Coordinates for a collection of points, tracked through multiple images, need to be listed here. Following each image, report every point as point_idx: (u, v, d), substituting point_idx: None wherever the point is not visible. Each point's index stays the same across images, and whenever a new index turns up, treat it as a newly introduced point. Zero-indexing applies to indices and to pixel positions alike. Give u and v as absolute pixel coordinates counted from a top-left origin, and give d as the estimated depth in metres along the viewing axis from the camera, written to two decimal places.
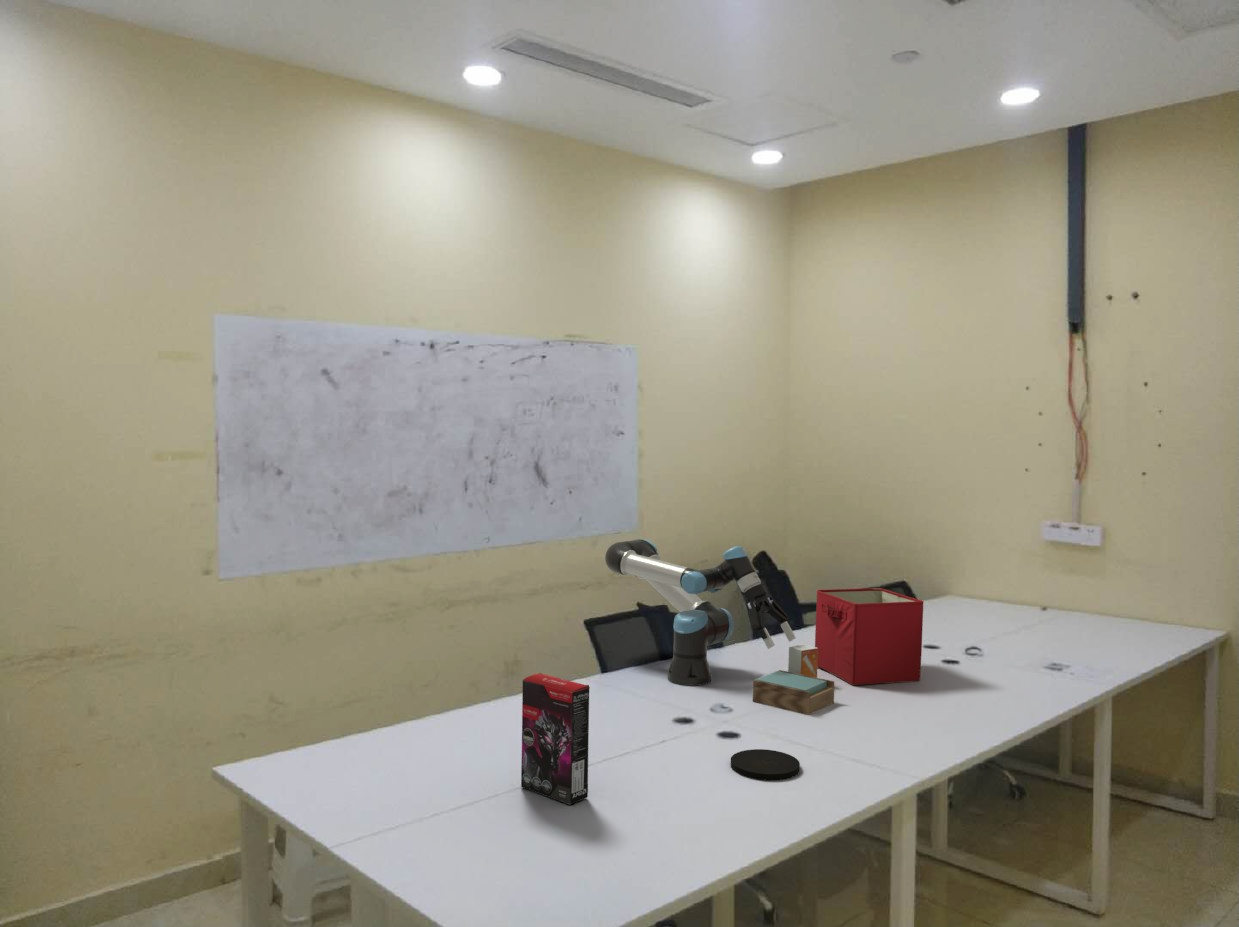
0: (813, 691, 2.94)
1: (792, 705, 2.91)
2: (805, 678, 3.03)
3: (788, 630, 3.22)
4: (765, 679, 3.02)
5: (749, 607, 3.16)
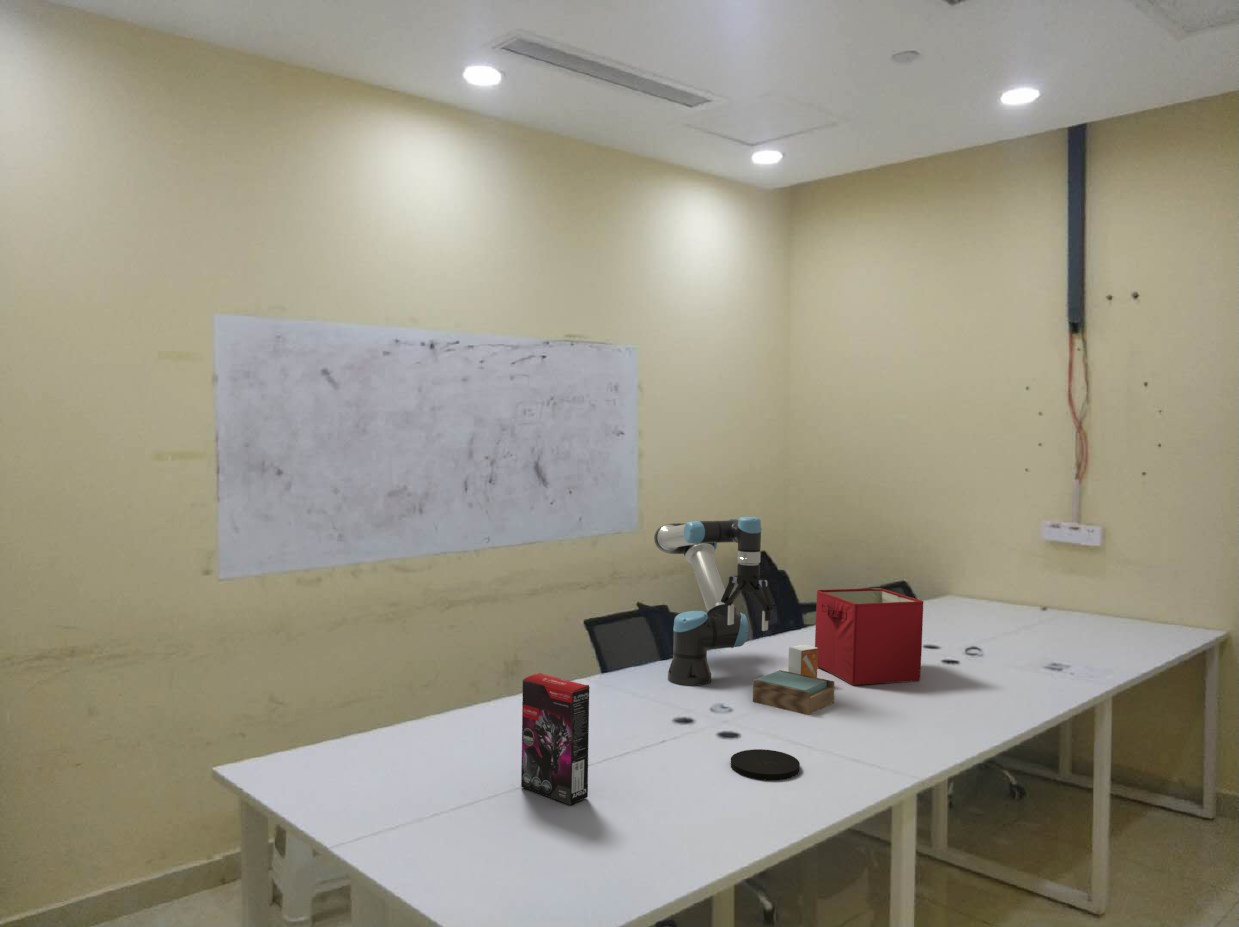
0: (813, 691, 2.94)
1: (792, 705, 2.91)
2: (805, 678, 3.03)
3: None
4: (765, 679, 3.02)
5: None
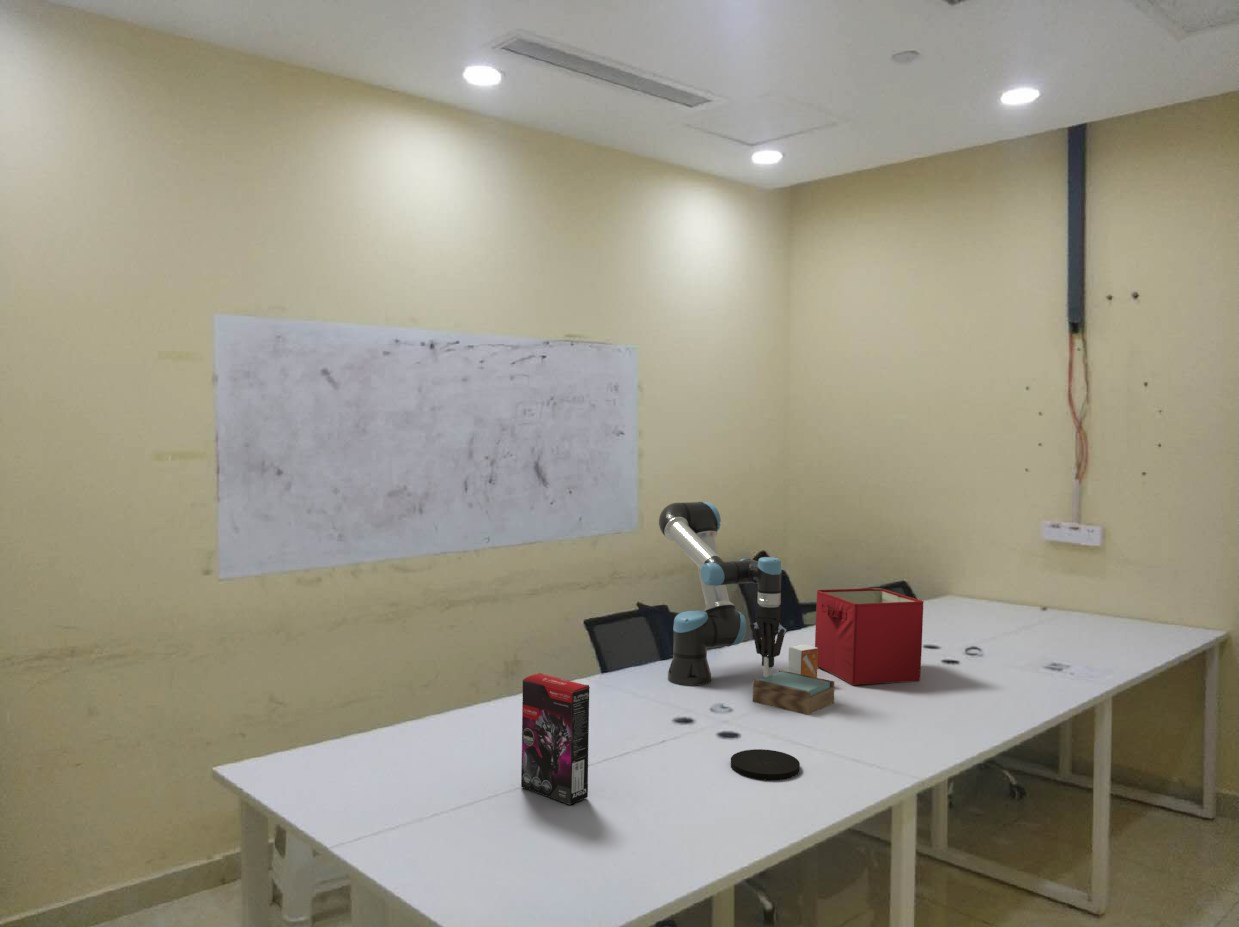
0: (816, 692, 2.93)
1: (792, 705, 2.91)
2: (808, 679, 3.03)
3: None
4: (768, 680, 3.01)
5: None
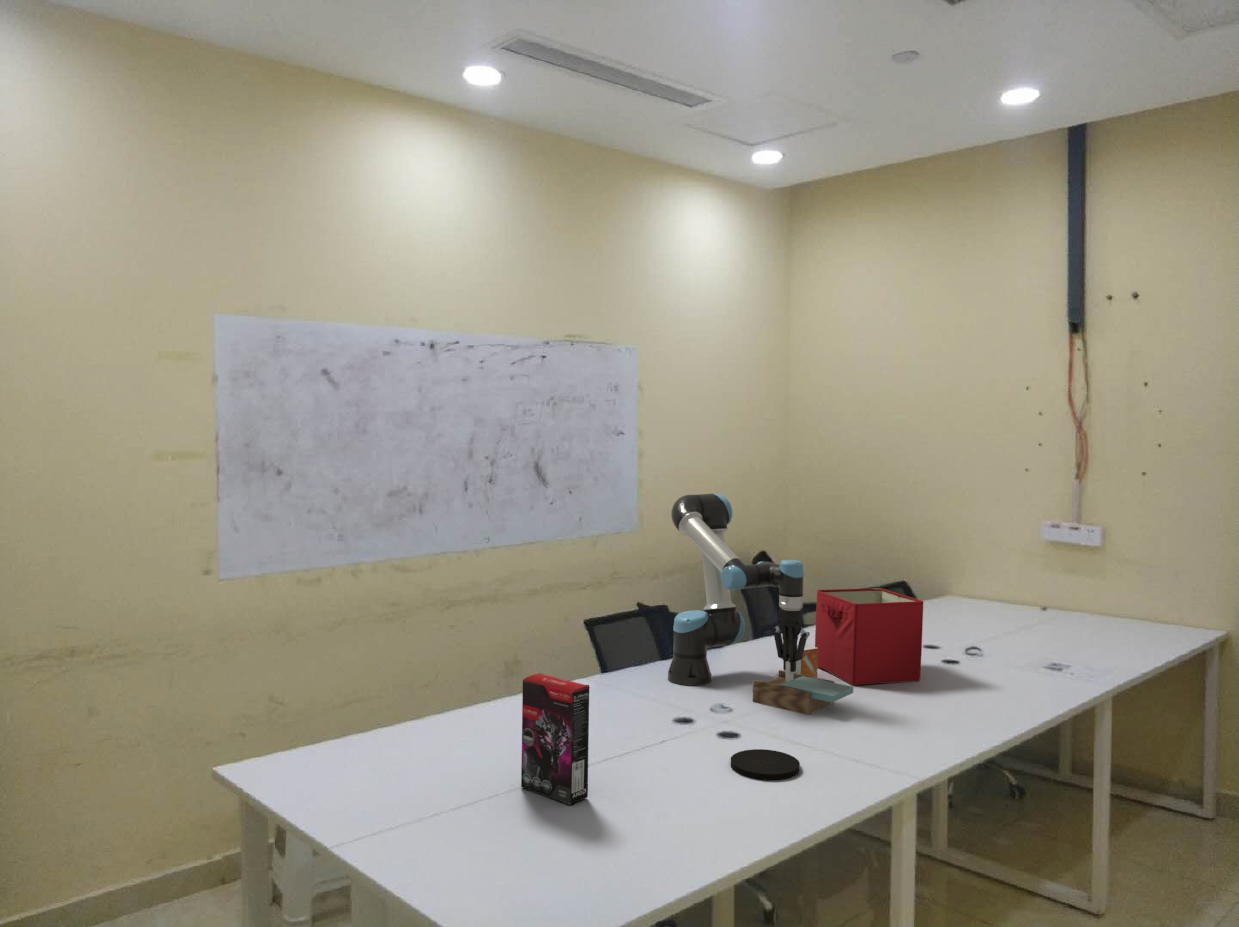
0: (840, 697, 2.88)
1: (792, 705, 2.91)
2: (831, 683, 2.98)
3: None
4: (790, 684, 2.96)
5: None
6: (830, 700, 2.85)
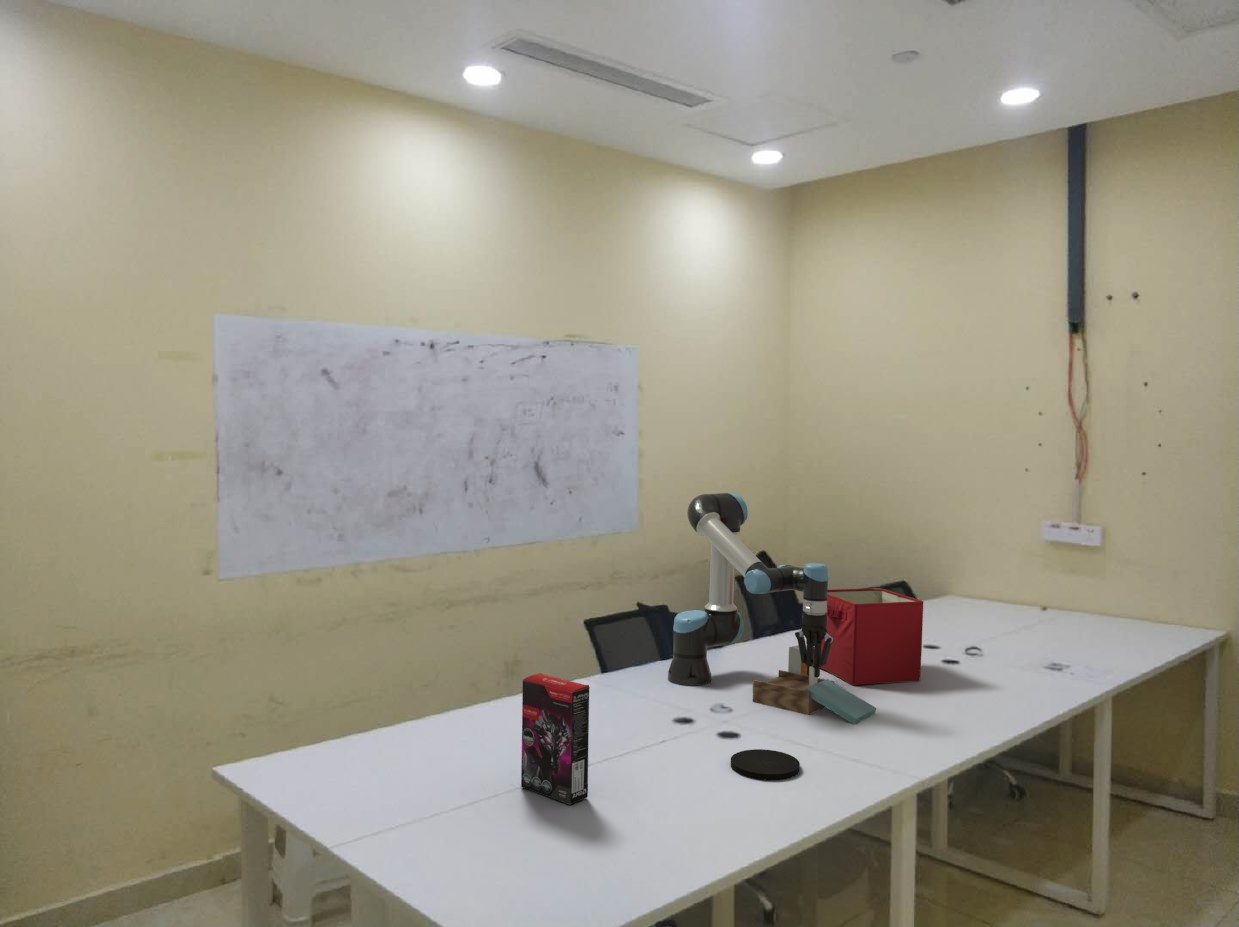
0: (862, 718, 2.84)
1: (792, 705, 2.91)
2: (855, 698, 2.92)
3: None
4: (815, 690, 2.90)
5: None
6: (852, 721, 2.80)
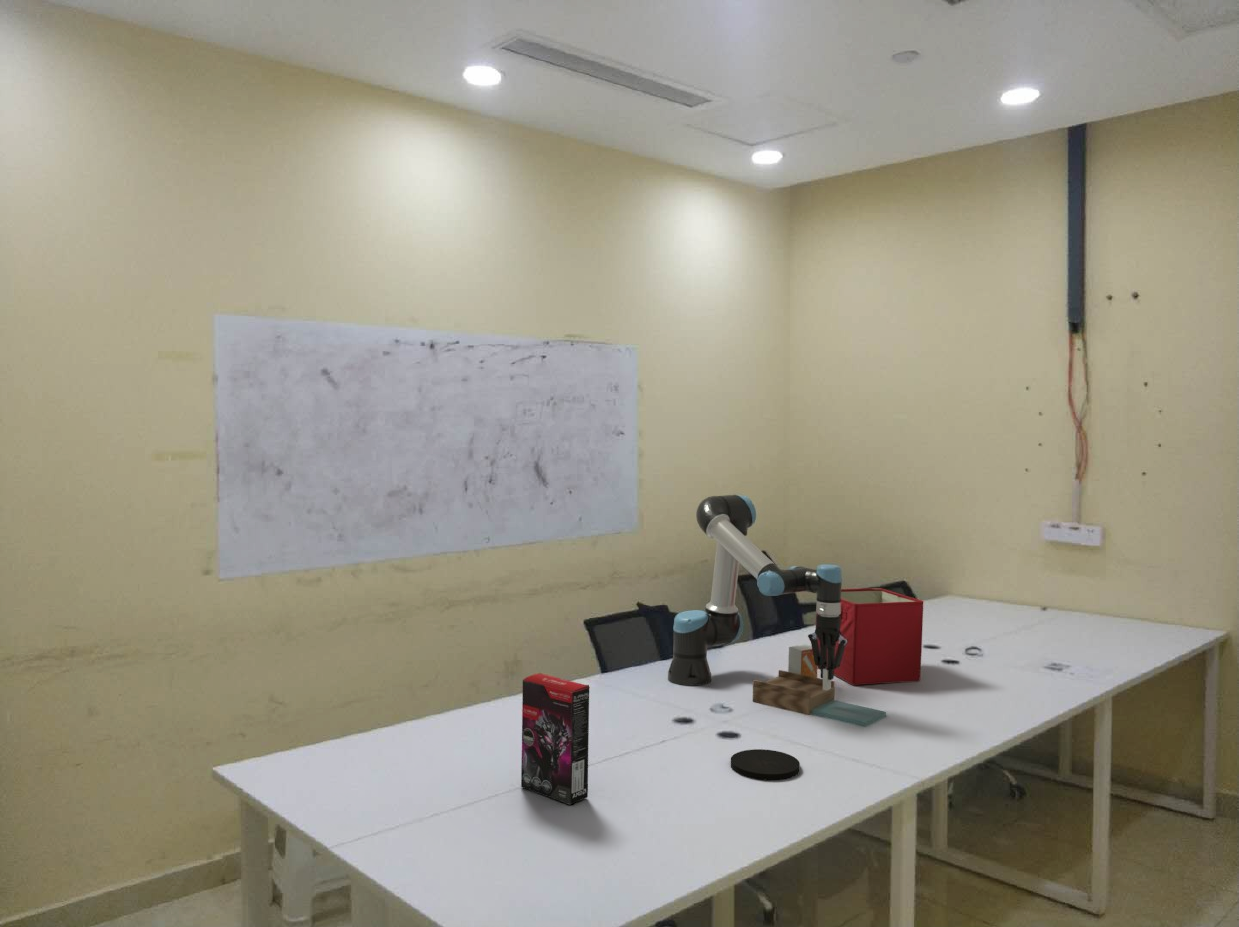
0: None
1: (792, 705, 2.91)
2: (863, 708, 2.91)
3: None
4: (821, 709, 2.89)
5: None
6: (863, 726, 2.78)
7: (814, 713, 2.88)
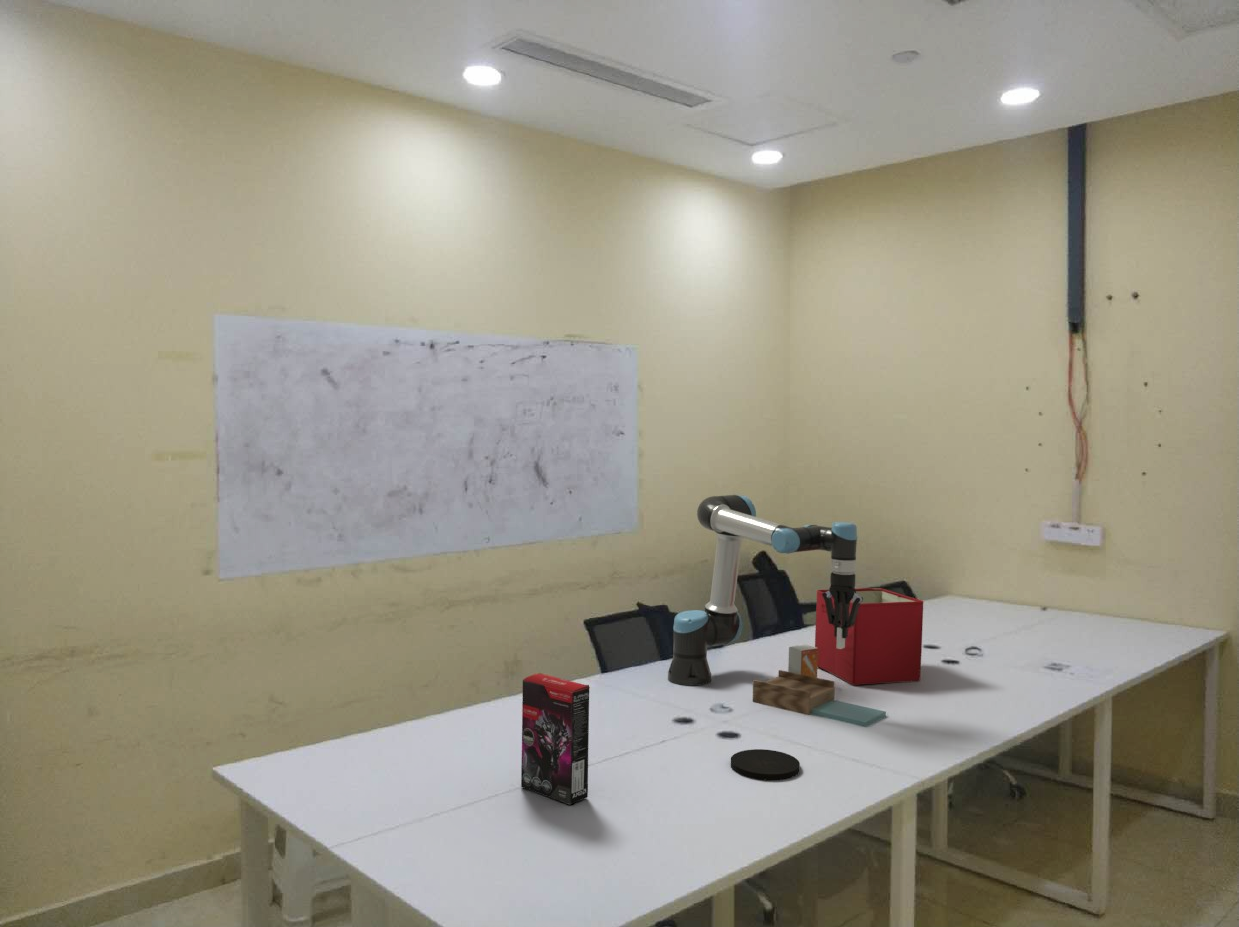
0: None
1: (792, 705, 2.91)
2: (863, 708, 2.91)
3: None
4: (821, 709, 2.89)
5: None
6: (863, 726, 2.78)
7: (814, 713, 2.88)
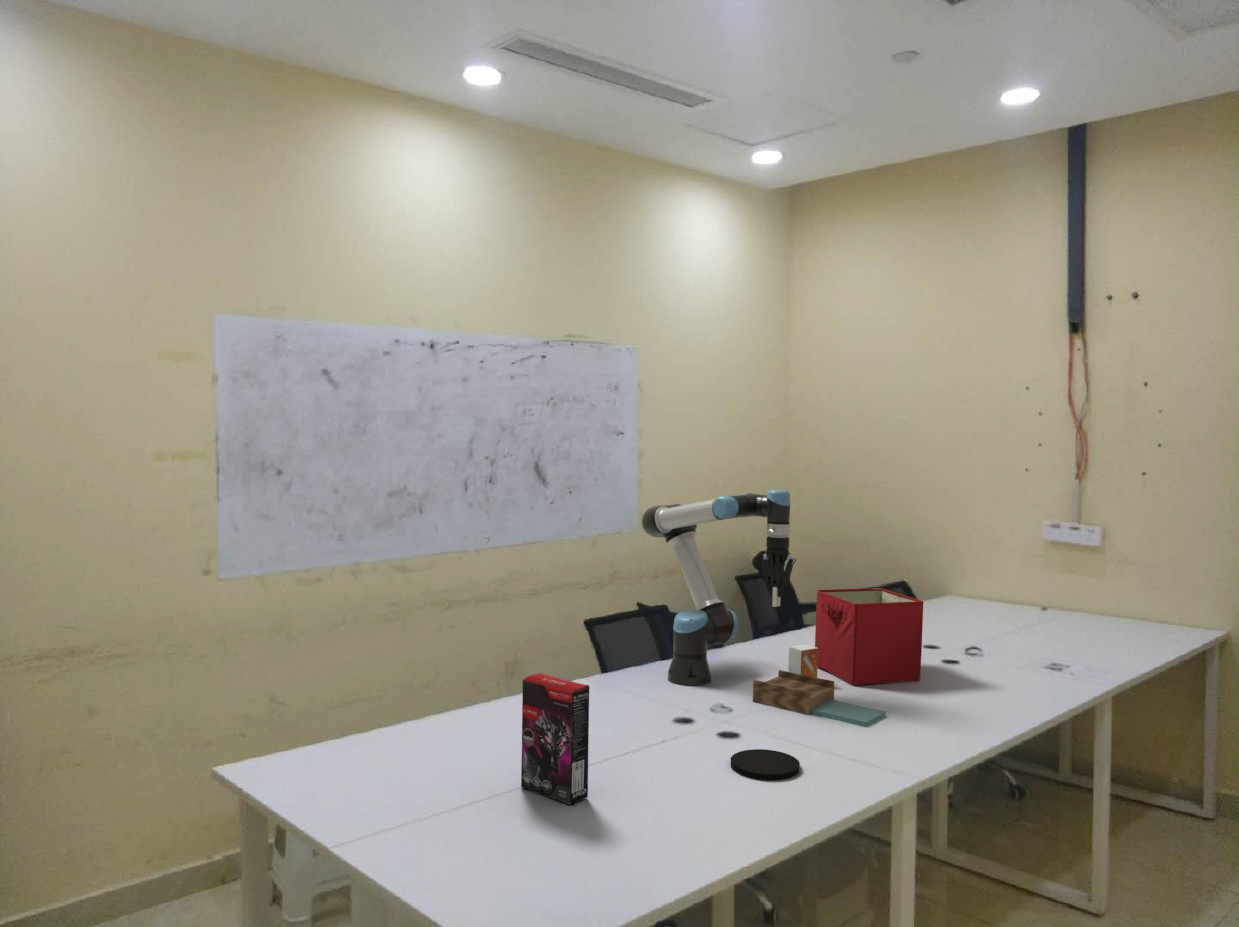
0: (873, 722, 2.81)
1: (792, 705, 2.91)
2: (863, 708, 2.91)
3: None
4: (821, 709, 2.89)
5: None
6: (863, 726, 2.78)
7: (814, 713, 2.88)
